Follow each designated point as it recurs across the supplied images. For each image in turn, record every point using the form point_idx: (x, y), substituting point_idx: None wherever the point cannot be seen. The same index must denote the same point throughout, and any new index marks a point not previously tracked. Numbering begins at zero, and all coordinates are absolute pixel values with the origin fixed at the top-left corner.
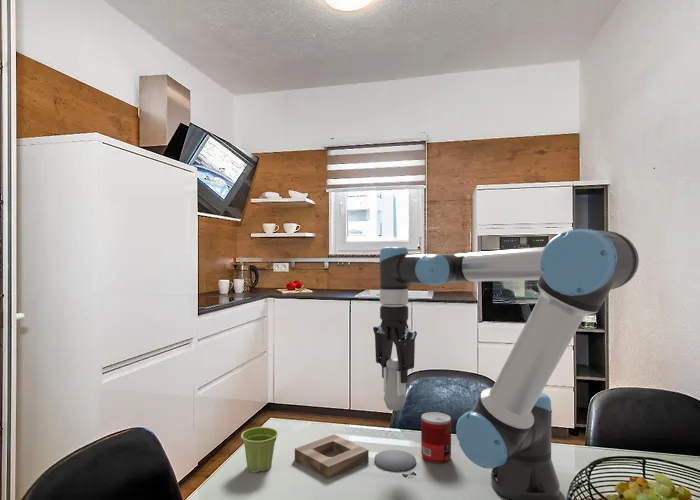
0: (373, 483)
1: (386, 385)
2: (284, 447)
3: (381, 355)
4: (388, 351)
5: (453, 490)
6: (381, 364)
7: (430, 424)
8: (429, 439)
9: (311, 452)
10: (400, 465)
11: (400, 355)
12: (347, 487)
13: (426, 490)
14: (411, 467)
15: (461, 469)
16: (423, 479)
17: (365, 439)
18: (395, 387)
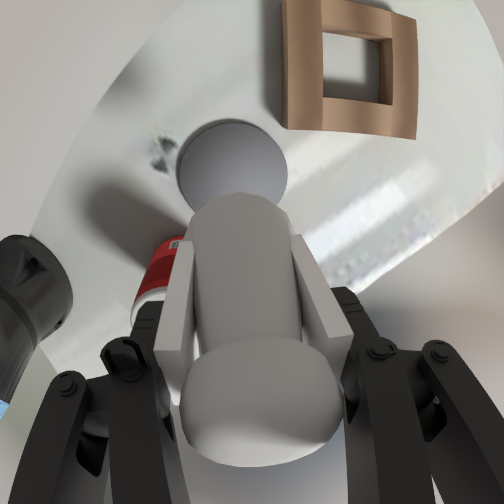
0: (189, 59)
1: (281, 251)
2: (454, 60)
3: (438, 418)
4: (364, 495)
5: (66, 182)
6: (386, 346)
7: (156, 286)
8: (166, 261)
9: (377, 22)
10: (199, 162)
11: (113, 495)
12: (219, 6)
13: (93, 136)
14: (179, 180)
15: (115, 259)
16: (127, 164)
17: (366, 210)
18: (202, 260)
